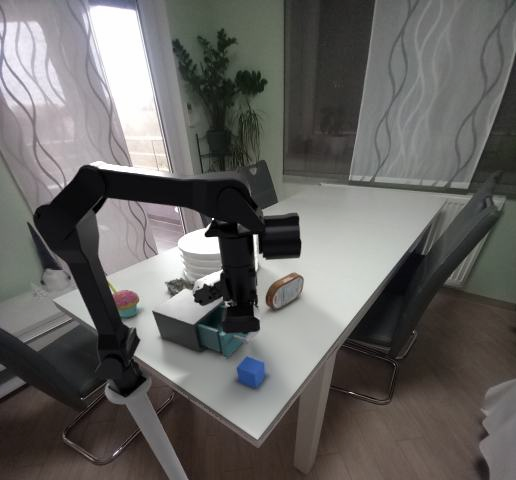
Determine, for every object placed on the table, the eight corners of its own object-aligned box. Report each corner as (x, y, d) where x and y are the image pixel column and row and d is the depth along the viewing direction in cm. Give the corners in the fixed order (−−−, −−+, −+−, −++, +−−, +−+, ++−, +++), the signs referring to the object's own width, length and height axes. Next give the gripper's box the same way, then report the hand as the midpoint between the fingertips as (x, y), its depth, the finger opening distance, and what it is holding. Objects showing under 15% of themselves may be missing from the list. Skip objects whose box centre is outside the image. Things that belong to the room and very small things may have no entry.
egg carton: (201, 294, 91) (199, 283, 88) (181, 302, 87) (178, 291, 85) (185, 283, 97) (182, 273, 94) (165, 291, 93) (162, 280, 91)
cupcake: (125, 324, 79) (109, 287, 72) (108, 316, 83) (90, 280, 75) (149, 310, 85) (136, 274, 77) (131, 303, 88) (117, 268, 81)
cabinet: (228, 325, 76) (224, 299, 71) (200, 352, 68) (193, 324, 63) (191, 313, 82) (185, 288, 76) (161, 337, 74) (151, 310, 68)
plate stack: (218, 294, 90) (212, 261, 83) (170, 271, 105) (162, 242, 98) (272, 265, 105) (272, 235, 98) (224, 249, 120) (220, 222, 113)
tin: (297, 292, 89) (298, 267, 83) (304, 295, 87) (306, 270, 82) (264, 311, 81) (263, 285, 76) (272, 315, 79) (272, 289, 74)
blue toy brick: (256, 388, 58) (254, 374, 56) (238, 381, 60) (236, 367, 57) (265, 376, 61) (264, 362, 58) (247, 369, 63) (246, 355, 60)
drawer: (266, 336, 70) (265, 314, 66) (242, 364, 63) (239, 341, 59) (214, 320, 77) (210, 299, 73) (187, 343, 70) (181, 321, 65)
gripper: (198, 243, 53) (211, 310, 63) (180, 290, 39) (200, 367, 49) (255, 240, 53) (258, 307, 63) (257, 285, 39) (262, 363, 49)
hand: (245, 333), depth 56 cm, fingers closed
